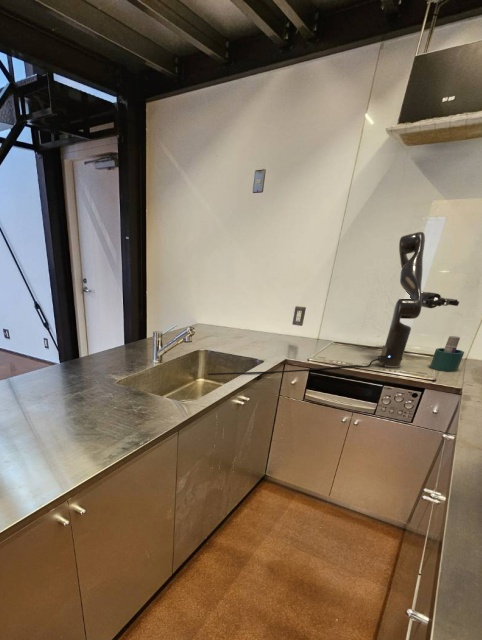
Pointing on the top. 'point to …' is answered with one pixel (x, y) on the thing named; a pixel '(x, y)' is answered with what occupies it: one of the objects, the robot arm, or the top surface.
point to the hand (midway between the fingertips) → (449, 303)
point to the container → (451, 344)
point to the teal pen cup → (446, 360)
